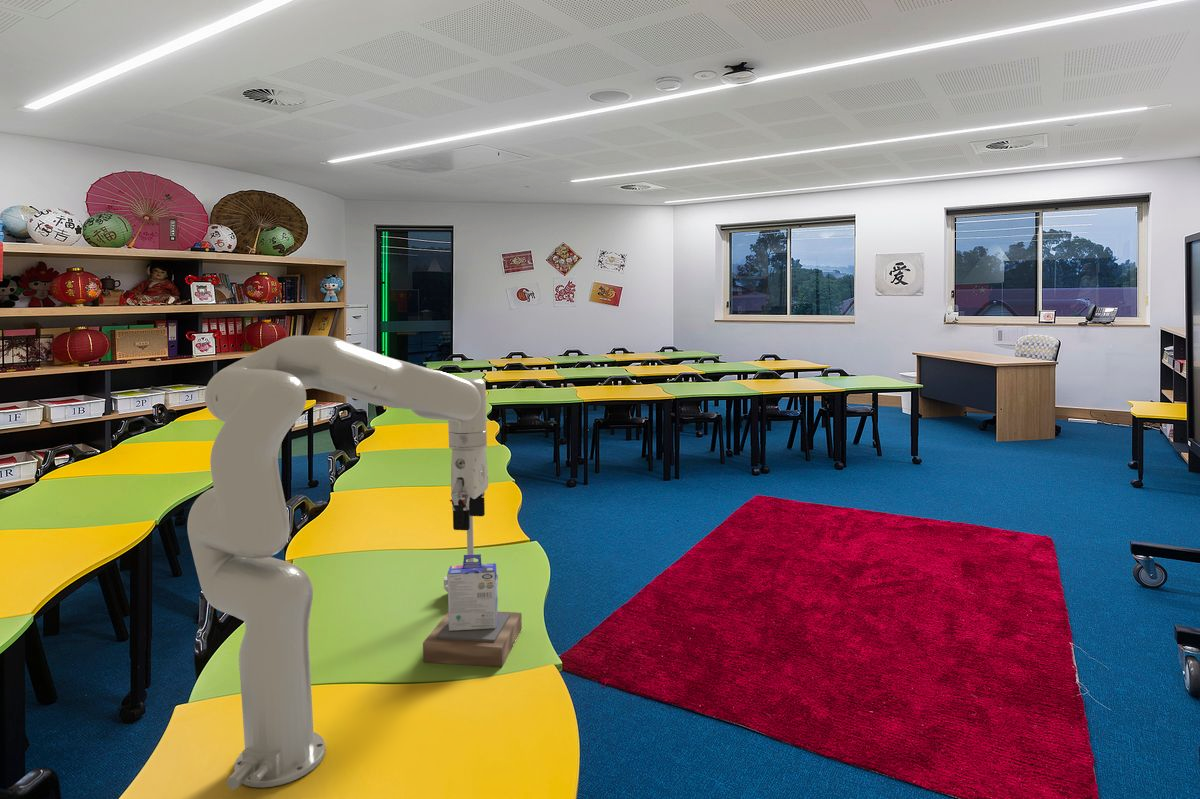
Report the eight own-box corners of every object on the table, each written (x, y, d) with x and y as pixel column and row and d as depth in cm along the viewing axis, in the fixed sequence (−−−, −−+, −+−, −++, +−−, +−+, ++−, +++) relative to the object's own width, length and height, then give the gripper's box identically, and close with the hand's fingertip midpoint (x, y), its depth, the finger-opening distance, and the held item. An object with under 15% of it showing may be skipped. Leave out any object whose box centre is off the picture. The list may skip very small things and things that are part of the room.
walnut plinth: (502, 667, 132) (501, 645, 132) (423, 661, 134) (422, 640, 134) (521, 630, 148) (521, 610, 148) (451, 626, 150) (450, 606, 150)
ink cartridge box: (498, 617, 144) (496, 551, 142) (497, 629, 139) (496, 560, 137) (450, 620, 143) (448, 553, 141) (448, 632, 137) (446, 563, 136)
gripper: (472, 447, 127) (474, 536, 129) (497, 433, 144) (499, 511, 146) (433, 446, 128) (436, 534, 130) (463, 432, 145) (465, 510, 147)
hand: (469, 522), depth 138 cm, fingers open, 9 cm apart
